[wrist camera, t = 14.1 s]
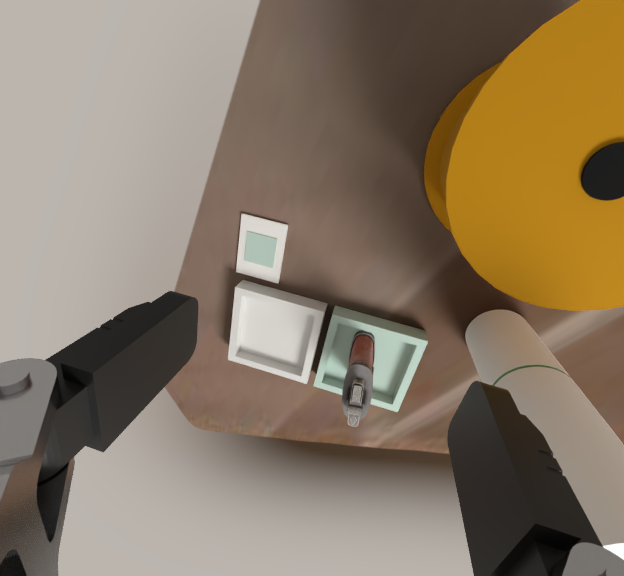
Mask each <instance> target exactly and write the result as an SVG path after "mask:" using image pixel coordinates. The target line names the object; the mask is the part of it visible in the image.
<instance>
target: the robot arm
mask: <svg viewBox="0 0 624 576" xmlns="http://www.w3.org/2000/svg"><path fill="white" fill-rule="evenodd" d="M197 323H198V301H197V299H196V298H194V297H190V296H187V295H183V294H180V293H177V292H173V291H169V292H167V293H165V294H164V295H162V296H161V297H159V298H158V299H156V300H155V301H153V302H152V303H150V302H146V303H143V304H140V305H137V306H134V307H131V308H128V309H127V310H125V311H123V312H122V313H120V314H119V315H117V316H115V317H114V319H113V320H111V319H110V320H109V321H107V322H106V323H104V324H102V325H101V327H100V328H96V329H95V330H93V331H91V332H90V333H88V334H87V335H85V336H84V337H82V338H80V339H78V340H77V341H75V342H74V343H72V344H70V345H69V346H67V347H66V348H64V349H62V350H61V351H59V352H58V353H56V354H54V355H53V356H51V357H50V358H48V359H46V360H41V359H31V358H29V359H17V360H12V361H7V362H3V363H0V576H58V554H59V546H60V541H61V535H62V530H63V524H64V519H65V514H66V508H67V503H68V497H69V492H70V486H71V480H72V476H73V470H74V463H75V460H74V456H75V455H76V454H77V453H78V452H79V451H80V450H81V449H82V448H83V447H84V446H88V447H90V448H93V449H96V450H99V451H102V452H104V451H105V450H106V449H107V448H108V447H109V446H110V445H111V443H112V442H113V441H114V440H115V439H116V438H117V437H118V436H119V435H120V434H121V433H122V432H123V431H124V429H126V427H127V426H128V425H129V424H130V423H131V422H132V421H133V420H134V419H135V418H136V417H137V416H138V414H139V413H140V412H141V411H142V410H143V409H144V408H145V407H146V406H147V405H148V404H149V403H150V402H151V401H152V400H153V398H154V397H155V396H156V395H157V394H158V393H159V392H160V391H161V390H162V389H163V388H164V387H165V386H166V385H167V383H168V382H169V381H170V380H171V379H172V378H173V377H174V376H175V375H176V374H177V373H178V372H179V371H180V370H181V368H182V367H183V366H184V365H185V364H186V363H187V362H188V361H189V359H190V358H191V356H192V354H193V352H194V350H195V347H196V342H197ZM448 447H449V452H450V457H451V462H452V467H453V472H454V477H455V482H456V487H457V492H458V497H459V502H460V507H461V512H462V517H463V522H464V527H465V532H466V537H467V542H468V547H469V552H470V557H471V563H472V568H473V573H474V576H624V560H623V559H622V558H620V557H619V556H617V555H616V554H614V553H612V552H611V551H609V550H607V549H605V548H604V547H603V546H602V544H601V542H600V540H599V538H598V536H597V534H596V533H595V531H594V529H593V527H592V525H591V523H590V521H589V519H588V518H587V516H586V514H585V512H584V510H583V508H582V506H581V505H580V503H579V501H578V499H577V497H576V495H575V493H574V491H573V490H572V488H571V486H570V484H569V482H568V480H567V478H566V477H565V476H563V475H562V473H563V471H562V469H561V467H560V465H559V464H558V462H557V460H556V458H553V455H554V454H553V452H552V450H551V449H550V447H549V445H548V443H547V441H546V439H545V437H544V436H543V434H542V433H541V432H540V431H539V430H538V429H537V427H536V426H535V425H534V424H533V423H532V422H531V421H530V420H529V419H528V418H527V416H526V415H522V414H520V412H519V410H518V408H517V406H516V404H515V402H514V400H513V398H512V396H511V394H510V392H509V391H508V390H506V389H503V388H500V387H496V386H493V385H489V384H486V383H483V382H479V381H475V382H473V383H472V384H471V385H470V387H469V389H468V391H467V392H466V394H465V396H464V398H463V400H462V402H461V404H460V405H459V407H458V409H457V411H456V413H455V415H454V416H453V418H452V420H451V423H450V426H449V430H448Z"/></svg>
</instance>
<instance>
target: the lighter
mask: <svg viewBox="0 0 624 576" xmlns="http://www.w3.org/2000/svg"><path fill="white" fill-rule="evenodd" d="M374 360H375V338H374V335H373V334H372V333H371V332H367V331H364V330H360V331H358V332H356V333H355V335H354V338H353V341H352V344H351V349H350V353H349V367H348V370H347V373H346V376H345V380H344V385H343V391H342V404H343V411H344V414H345V415H346V416H347V417H348V425H350V426H354V427H356V426H358V423H359V420H361V419H363V418H364V417H365V416H366V414H367V411H368V409H369V407H370V403H371V399H372V390H373V374H374V367H373V365H374Z"/></svg>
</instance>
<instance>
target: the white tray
mask: <svg viewBox="0 0 624 576" xmlns="http://www.w3.org/2000/svg"><path fill="white" fill-rule="evenodd" d="M327 305H328V303H325V302H321V301H317V300H314V299H310V298H307V297H303V296H300V295H296V294H292V293H289V292H285V291H282V290H278V289H275V288H271V287H267V286H264V285H260V284H257V283H253V282H249V281H246V280H242V281H241V282H240V283H239V284H238V285H237V286H236V287H235V294H234V304H233V314H232V324H231V334H230V344H229V354H228V360H231V361H234V362H238V363H241V364H244V365H247V366H250V367H254V368H257V369H260V370H263V371H267V372H270V373H273V374H276V375H279V376H283V377H286V378H289V379H292V380H295V381H299V382H302V383H305V384H307V382H308V379H309V376H310V373H311V369H312V365H313V361H314V357H315V353H316V349H317V345H318V341H319V337H320V333H321V329H322V325H323V321H324V317H325V313H326V309H327Z"/></svg>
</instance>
